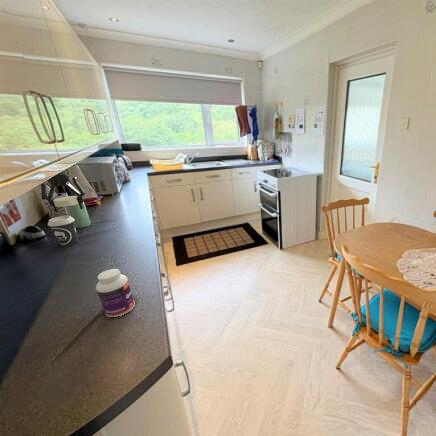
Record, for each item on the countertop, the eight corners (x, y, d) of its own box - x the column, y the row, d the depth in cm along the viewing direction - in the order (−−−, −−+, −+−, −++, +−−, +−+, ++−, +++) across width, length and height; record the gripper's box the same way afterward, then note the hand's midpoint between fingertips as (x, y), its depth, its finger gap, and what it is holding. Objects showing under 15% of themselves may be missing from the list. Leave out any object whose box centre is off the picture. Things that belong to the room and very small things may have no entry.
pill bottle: (136, 312, 76) (125, 275, 70) (106, 323, 71) (91, 285, 66) (134, 298, 82) (124, 263, 76) (106, 307, 77) (93, 271, 72)
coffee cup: (84, 245, 117) (74, 218, 112) (59, 252, 111) (47, 223, 105) (81, 239, 123) (71, 213, 118) (56, 246, 116) (45, 218, 111)
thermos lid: (83, 200, 126) (82, 195, 125) (71, 206, 117) (69, 200, 116) (64, 201, 124) (62, 196, 123) (50, 207, 116) (48, 201, 115)
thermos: (67, 228, 137) (57, 201, 130) (79, 222, 145) (70, 197, 139) (83, 228, 137) (74, 201, 131) (94, 222, 145) (86, 197, 139)
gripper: (84, 164, 122) (97, 204, 130) (26, 168, 112) (44, 211, 120) (80, 166, 116) (94, 208, 124) (18, 170, 106) (38, 215, 114)
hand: (70, 210), depth 122 cm, fingers closed on thermos lid, 9 cm apart
